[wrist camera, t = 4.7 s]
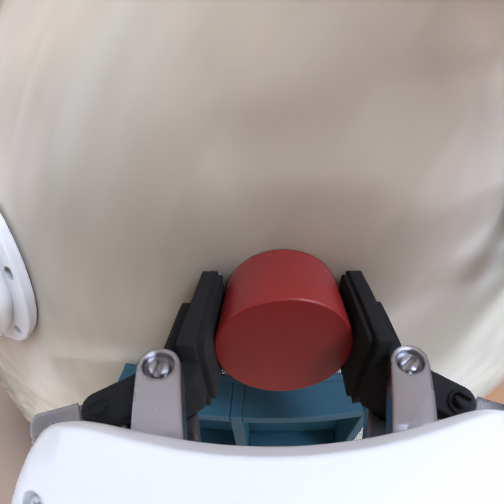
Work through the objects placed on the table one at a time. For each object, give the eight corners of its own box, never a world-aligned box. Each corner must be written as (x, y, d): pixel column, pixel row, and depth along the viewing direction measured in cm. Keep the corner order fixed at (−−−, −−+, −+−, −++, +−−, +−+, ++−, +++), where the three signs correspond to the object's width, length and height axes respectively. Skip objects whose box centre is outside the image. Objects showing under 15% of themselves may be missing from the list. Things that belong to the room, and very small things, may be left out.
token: (229, 337, 12) (221, 389, 9) (220, 248, 10) (204, 297, 7) (328, 336, 12) (339, 388, 9) (344, 248, 10) (368, 296, 7)
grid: (192, 465, 23) (189, 483, 21) (125, 363, 14) (110, 397, 12) (312, 469, 22) (313, 488, 20) (364, 370, 13) (374, 409, 11)
